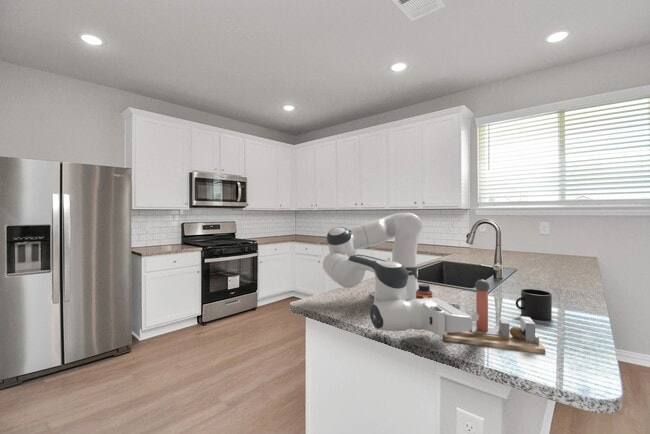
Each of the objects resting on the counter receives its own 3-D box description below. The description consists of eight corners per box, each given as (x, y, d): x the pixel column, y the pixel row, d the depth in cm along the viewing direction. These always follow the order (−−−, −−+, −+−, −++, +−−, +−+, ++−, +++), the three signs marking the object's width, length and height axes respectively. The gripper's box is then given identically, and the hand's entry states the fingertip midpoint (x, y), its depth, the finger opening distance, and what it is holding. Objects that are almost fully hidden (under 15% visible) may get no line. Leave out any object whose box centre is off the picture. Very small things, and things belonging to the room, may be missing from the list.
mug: (508, 311, 119) (508, 288, 119) (540, 312, 119) (541, 289, 118) (523, 320, 110) (523, 295, 110) (557, 320, 109) (558, 295, 109)
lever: (472, 335, 94) (472, 280, 94) (470, 329, 99) (470, 277, 98) (509, 339, 90) (509, 283, 90) (506, 333, 95) (506, 279, 95)
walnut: (511, 339, 91) (511, 328, 91) (508, 335, 94) (508, 324, 94) (524, 341, 90) (524, 329, 90) (521, 336, 93) (521, 325, 93)
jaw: (525, 342, 88) (525, 323, 88) (520, 335, 94) (520, 316, 94) (539, 344, 87) (539, 324, 87) (533, 336, 93) (533, 317, 93)
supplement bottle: (430, 317, 113) (430, 287, 113) (414, 315, 117) (414, 285, 116) (433, 313, 118) (433, 284, 118) (418, 310, 122) (418, 282, 121)
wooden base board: (444, 340, 94) (444, 333, 94) (443, 326, 105) (443, 320, 105) (545, 353, 84) (545, 345, 84) (533, 336, 95) (533, 329, 95)
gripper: (410, 312, 102) (448, 310, 104) (442, 337, 82) (489, 334, 84) (410, 294, 102) (448, 292, 104) (442, 314, 82) (489, 311, 84)
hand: (467, 311), depth 94 cm, fingers open, 8 cm apart
